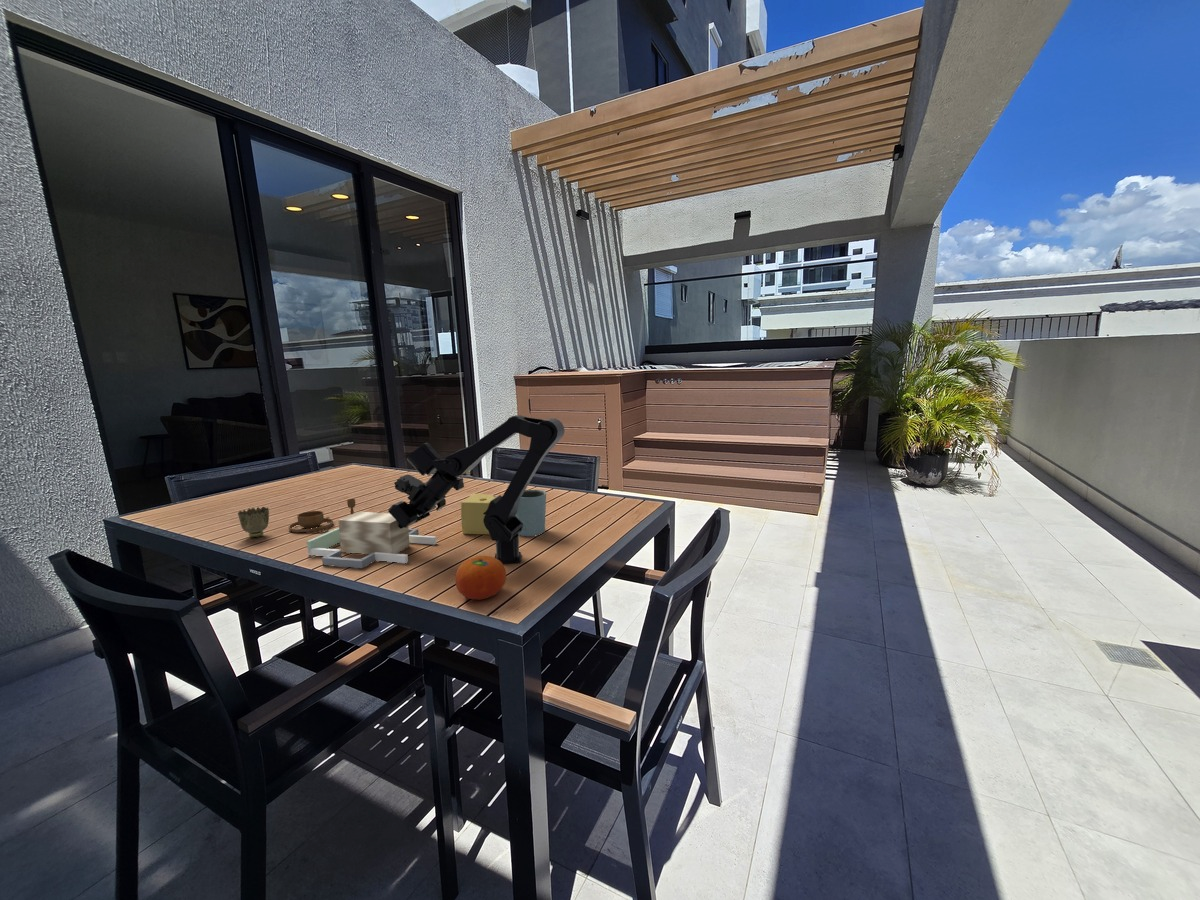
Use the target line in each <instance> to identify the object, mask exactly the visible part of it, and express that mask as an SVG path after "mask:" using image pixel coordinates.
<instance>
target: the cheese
mask: <svg viewBox="0 0 1200 900" xmlns="http://www.w3.org/2000/svg"><path fill="white" fill-rule="evenodd" d="M496 497H497V496H495V495H494V494H486V493H485V494H484V493H471V494H470V496H468V497H467V498H466V499H465V500H463V501H461V504H460V517H461V519H460V520H461V531H462V534H463V535H490V534H489V531H488V530H487V529H486V527H485V525H484V523H483V519H484V516H485V515H484V514H483V513H484V512H486V510H487V509H488V506H489V503H490V501H491V500H493V499H495V498H496Z"/></svg>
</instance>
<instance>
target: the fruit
mask: <svg viewBox="0 0 1200 900" xmlns="http://www.w3.org/2000/svg"><path fill="white" fill-rule="evenodd" d="M506 581H507V571H506V567H505V566H504V563H503V564H502V562H501V561H499V560H498V559H496V558H495V556H491V555H478V556H474V557H471V558H468V559H466V560H465V561H463V562H462V563H461V564H460V565H459V566H458V569H457V570H456V573H455V577H454V582H455V586H456V590H457V591H458V592H459V594H461V595H462V596H463V597H465V598H467V599H468V600H469V599H471V600H485V599H488V598H491V597H493V596H495V595H496V594H498V593H499V592H500V591H501V590H502V589H503V587H504V586H505V584H506Z"/></svg>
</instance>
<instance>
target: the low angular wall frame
mask: <svg viewBox="0 0 1200 900" xmlns="http://www.w3.org/2000/svg"><path fill="white" fill-rule="evenodd" d="M408 529H409V544H417V545H418V544H422V545H437V536H431V535H419V528H408ZM337 543H339V544H340V534H339V527H337V528H335V529H332V530H329V531H327V532H325V533H322V534H320V535H318V536H316V537H314V538H311V539H309V540H307V541H306V544H307V545H306V546H307V556H308V555H318V556H325V557H321V563H322V564H321V565H323V564H324V565H334V566H341V567H340V568H346V567H354V568H353V569H358V568H363V567H365V566H366V565H368V564H370V563H371V562H373V561H375V560H377V561H375V562H379V561H387V562H386V563H392V562H397V563H396V564H405V563H406V564H407V563H409V556H408V554H405V553H397V554H394V553H380V552H375V553H371V554H369V555H366V556H364V557H362V558H350V557H349V558H348V557H342V554H343V553H341V548H340V549H338V548H332V547H334V546H336V545H338V544H337ZM335 544H336V545H335ZM333 545H334V546H333ZM331 546H332V547H331ZM329 547H330V548H329ZM326 548H328V549H326ZM341 557H342V558H341ZM373 563H374V562H373ZM371 564H372V563H371ZM371 564H370V565H371ZM368 566H369V565H368ZM366 567H367V566H366ZM366 567H365V568H366ZM363 569H364V568H363Z"/></svg>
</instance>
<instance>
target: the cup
mask: <svg viewBox="0 0 1200 900" xmlns="http://www.w3.org/2000/svg"><path fill="white" fill-rule="evenodd" d="M237 516H238V519H239V523H240V527H241V529H242V530H243V531H244V532H246V533H248V537H249V538H250V537H252V539H254V538H253V537H257V538H260V537H259V536H261V537H262V535H263V536H264V535H265V534H264V533H265V532H264V530H266V529H267V527H268V525H269V521H270V519H269V517H270V509H269V507H265V506H262V507H261V508H260V507H259V506H258V507H257V508H255V507H251V508H248V509H247V510H245V509H243V511H242V510H239V511H238V512H237Z"/></svg>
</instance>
